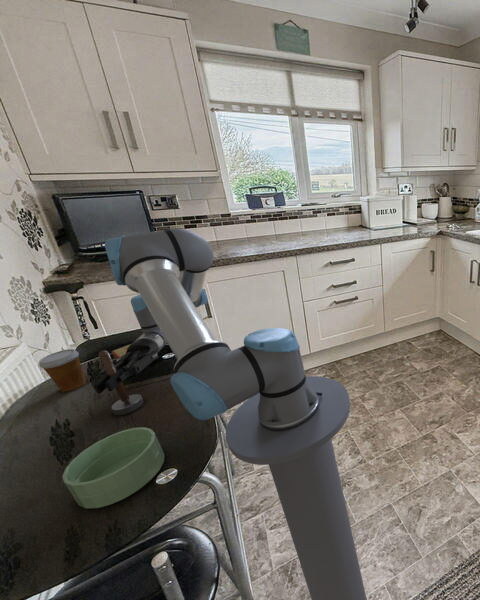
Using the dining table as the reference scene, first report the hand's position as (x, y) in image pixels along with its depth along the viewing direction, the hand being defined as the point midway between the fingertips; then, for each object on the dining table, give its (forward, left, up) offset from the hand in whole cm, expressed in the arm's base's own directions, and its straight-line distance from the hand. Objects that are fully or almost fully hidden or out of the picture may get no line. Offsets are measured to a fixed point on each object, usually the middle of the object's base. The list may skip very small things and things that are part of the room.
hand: (103, 388), depth 87 cm
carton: (0, -42, -11) cm, 44 cm away
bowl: (-4, +27, -11) cm, 29 cm away
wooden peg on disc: (-2, -5, -11) cm, 12 cm away
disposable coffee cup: (+16, -35, -11) cm, 40 cm away
